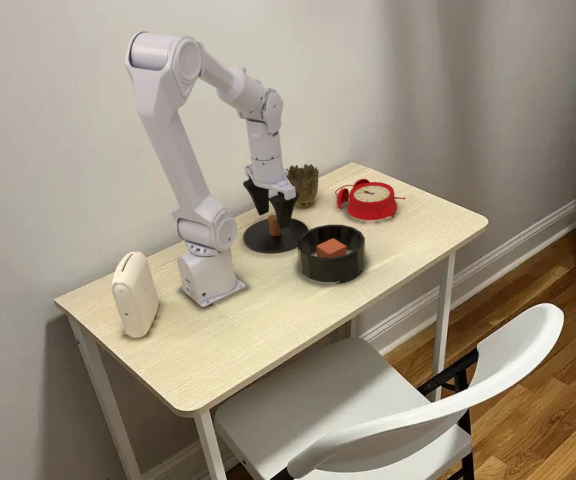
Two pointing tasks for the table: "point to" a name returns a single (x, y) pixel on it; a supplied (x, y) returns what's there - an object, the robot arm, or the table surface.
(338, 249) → the block
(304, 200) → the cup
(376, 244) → the table surface
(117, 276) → the photo printer
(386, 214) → the alarm clock
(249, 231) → the lid
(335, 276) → the pot
